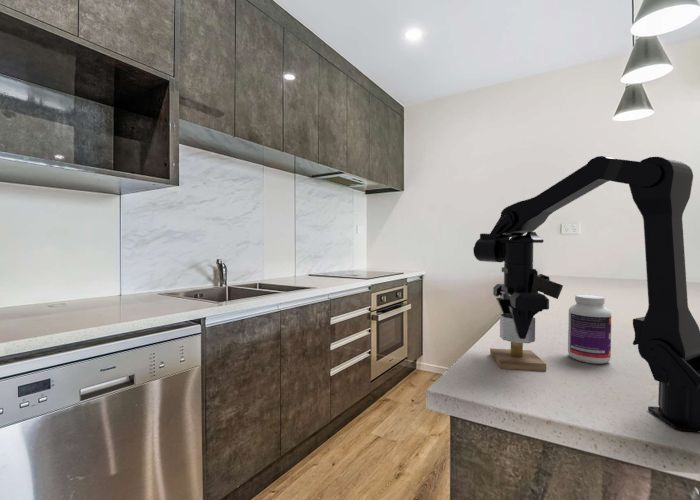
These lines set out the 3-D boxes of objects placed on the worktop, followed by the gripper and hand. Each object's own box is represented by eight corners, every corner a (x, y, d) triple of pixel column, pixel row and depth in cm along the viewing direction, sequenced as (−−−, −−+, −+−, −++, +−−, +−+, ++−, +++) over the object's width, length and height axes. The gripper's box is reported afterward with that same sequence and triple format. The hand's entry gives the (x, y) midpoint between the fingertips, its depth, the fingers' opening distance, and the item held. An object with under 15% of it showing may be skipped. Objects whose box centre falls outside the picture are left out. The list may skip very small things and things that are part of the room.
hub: (538, 343, 74) (538, 320, 74) (505, 342, 75) (505, 318, 75) (527, 335, 80) (527, 313, 80) (497, 334, 81) (497, 312, 81)
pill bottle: (618, 366, 75) (619, 300, 75) (576, 364, 77) (578, 298, 77) (599, 354, 83) (601, 294, 83) (562, 352, 85) (563, 293, 84)
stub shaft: (546, 371, 73) (546, 339, 72) (500, 368, 74) (500, 337, 74) (530, 356, 81) (531, 329, 81) (490, 354, 83) (490, 327, 83)
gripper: (579, 267, 67) (577, 349, 67) (541, 261, 85) (540, 325, 85) (516, 266, 68) (515, 346, 69) (493, 261, 87) (492, 324, 87)
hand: (517, 334), depth 77 cm, fingers closed on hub, 6 cm apart
